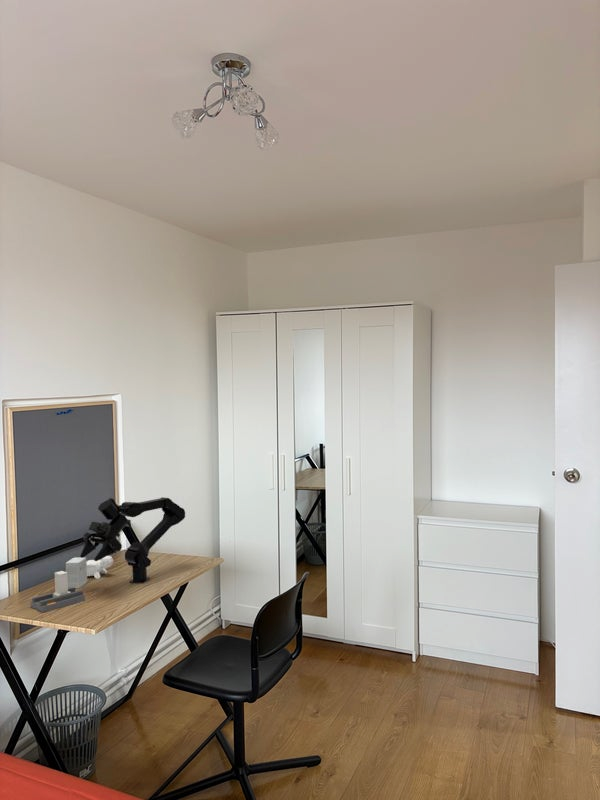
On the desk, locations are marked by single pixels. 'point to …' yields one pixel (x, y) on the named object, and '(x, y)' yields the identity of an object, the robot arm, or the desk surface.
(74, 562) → the small box
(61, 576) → the switch tab
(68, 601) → the switch base
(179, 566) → the desk surface
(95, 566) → the white toy figurine
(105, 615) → the desk surface
